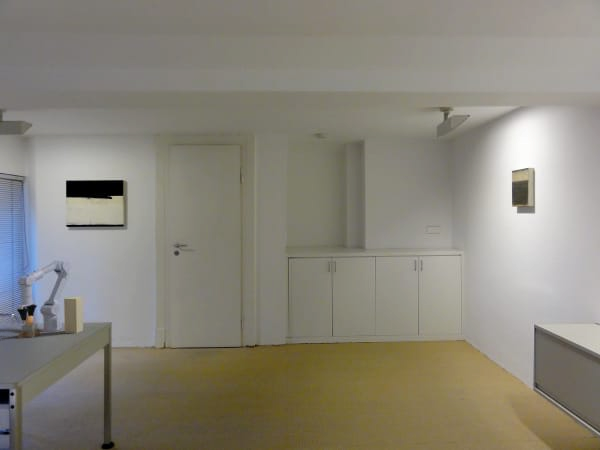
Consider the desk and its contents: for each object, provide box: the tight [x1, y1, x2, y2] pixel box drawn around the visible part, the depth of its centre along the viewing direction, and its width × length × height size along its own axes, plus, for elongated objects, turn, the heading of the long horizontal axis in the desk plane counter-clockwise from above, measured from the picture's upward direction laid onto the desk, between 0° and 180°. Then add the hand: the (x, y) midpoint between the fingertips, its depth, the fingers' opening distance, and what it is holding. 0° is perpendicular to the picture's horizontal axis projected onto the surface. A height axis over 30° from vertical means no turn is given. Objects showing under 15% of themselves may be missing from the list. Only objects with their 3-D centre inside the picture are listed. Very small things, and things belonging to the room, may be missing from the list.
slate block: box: [21, 322, 39, 332], centre depth 259 cm, size 6×6×4 cm
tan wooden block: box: [63, 296, 84, 334], centre depth 266 cm, size 8×7×21 cm
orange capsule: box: [24, 315, 34, 326], centre depth 258 cm, size 4×4×5 cm
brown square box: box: [18, 328, 41, 339], centre depth 259 cm, size 8×8×4 cm
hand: (27, 318), depth 258 cm, fingers open, 7 cm apart
